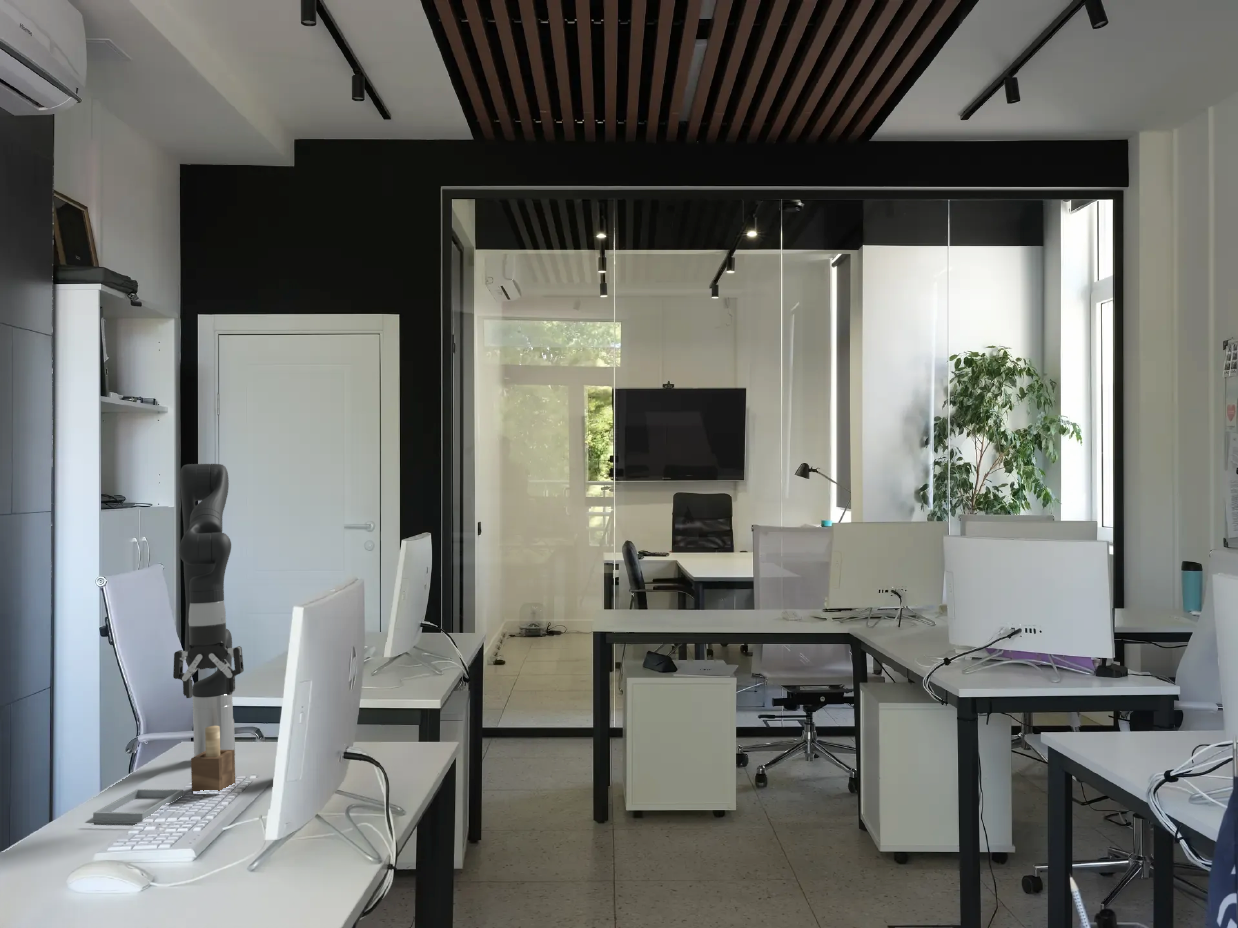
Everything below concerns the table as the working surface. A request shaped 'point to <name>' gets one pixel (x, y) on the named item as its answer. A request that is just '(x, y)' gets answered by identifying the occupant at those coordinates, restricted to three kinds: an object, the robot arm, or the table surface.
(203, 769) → the walnut holder
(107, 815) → the grey tray
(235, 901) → the table surface
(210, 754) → the birch dowel
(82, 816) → the table surface
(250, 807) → the table surface
